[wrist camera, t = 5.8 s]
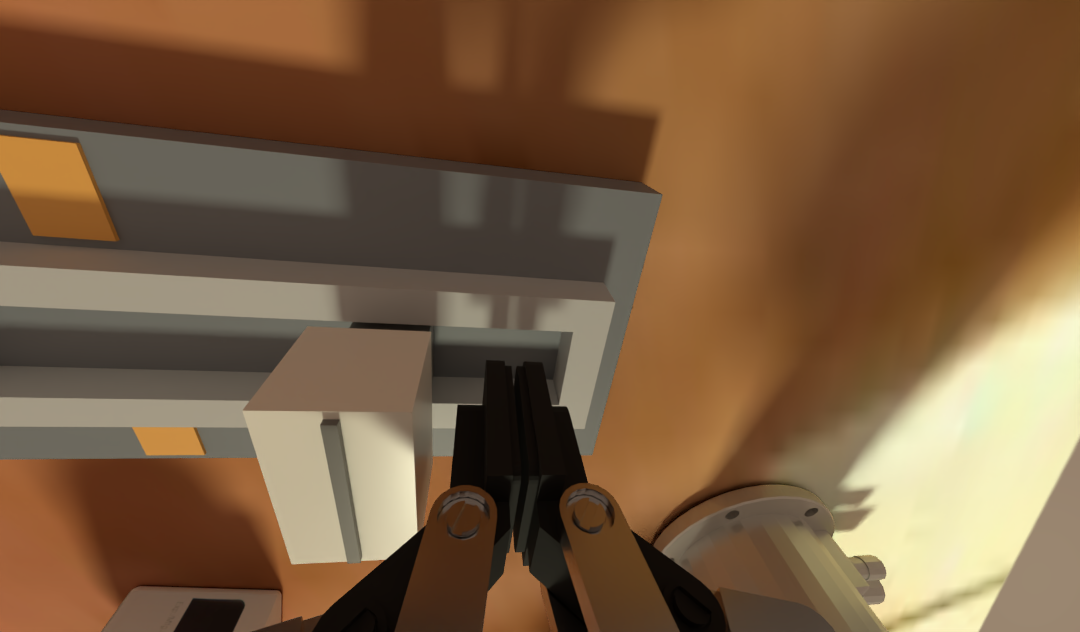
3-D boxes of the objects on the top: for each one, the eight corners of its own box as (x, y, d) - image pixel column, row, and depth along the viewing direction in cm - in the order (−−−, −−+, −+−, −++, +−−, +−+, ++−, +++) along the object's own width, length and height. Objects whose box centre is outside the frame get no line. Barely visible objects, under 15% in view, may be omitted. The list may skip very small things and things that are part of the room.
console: (641, 182, 14) (682, 206, 11) (583, 423, 20) (600, 482, 17) (-212, 85, 10) (-502, 81, 7) (21, 420, 16) (-88, 496, 13)
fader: (442, 283, 13) (410, 418, 7) (441, 399, 15) (417, 564, 10) (344, 277, 12) (236, 416, 7) (360, 398, 15) (288, 571, 9)
